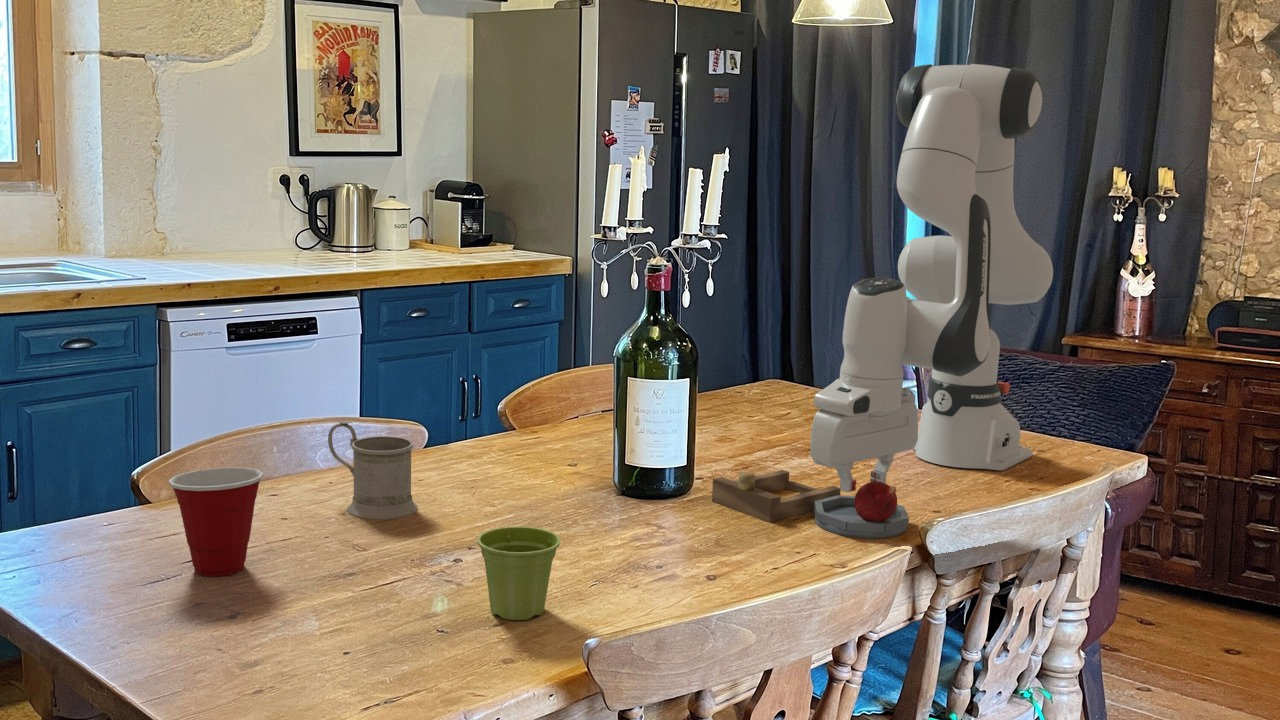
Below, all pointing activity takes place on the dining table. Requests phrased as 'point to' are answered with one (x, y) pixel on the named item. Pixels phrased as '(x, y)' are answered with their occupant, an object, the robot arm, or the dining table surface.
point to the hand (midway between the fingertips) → (862, 487)
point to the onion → (875, 501)
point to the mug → (379, 475)
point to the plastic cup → (217, 516)
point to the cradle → (767, 495)
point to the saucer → (856, 519)
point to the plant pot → (518, 569)
